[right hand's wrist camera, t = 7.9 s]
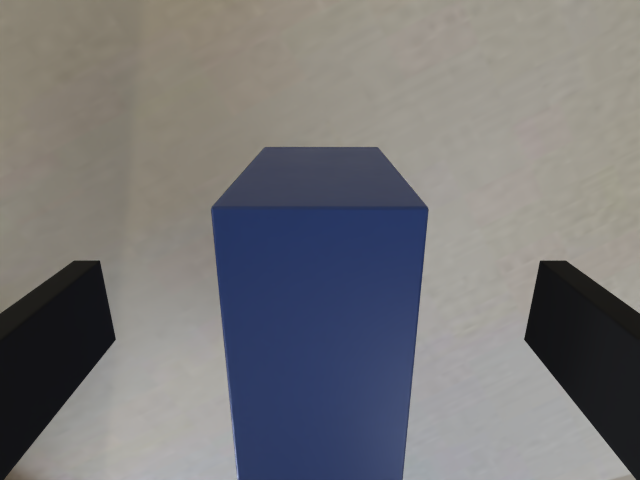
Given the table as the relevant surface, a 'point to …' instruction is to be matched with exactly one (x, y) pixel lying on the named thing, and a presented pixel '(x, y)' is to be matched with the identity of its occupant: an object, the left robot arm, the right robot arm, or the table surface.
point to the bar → (319, 312)
